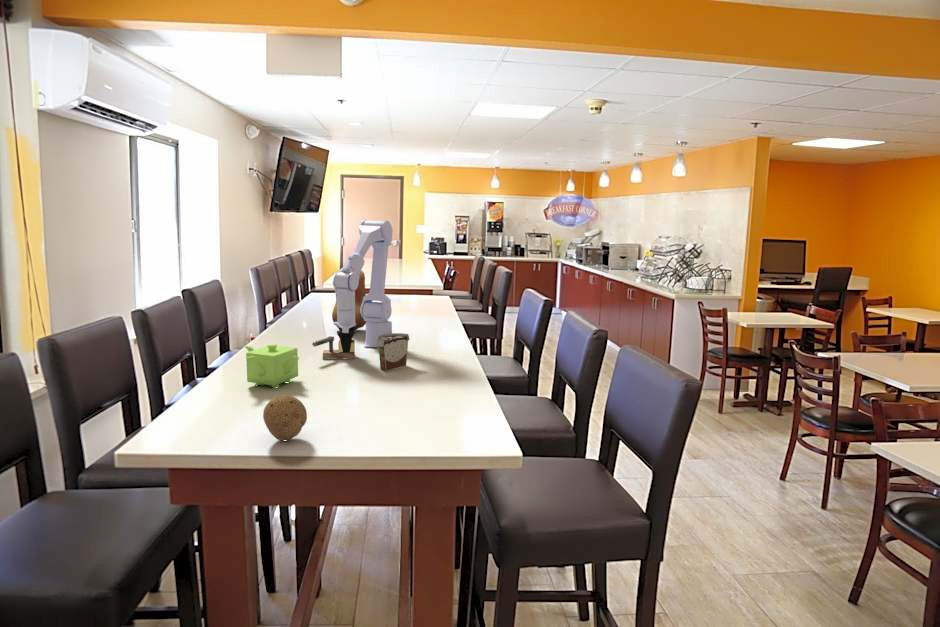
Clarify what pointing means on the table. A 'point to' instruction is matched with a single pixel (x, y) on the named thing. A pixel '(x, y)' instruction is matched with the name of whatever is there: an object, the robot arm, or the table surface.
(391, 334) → the food container
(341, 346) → the tan wooden block
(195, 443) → the table surface
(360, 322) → the butternut squash
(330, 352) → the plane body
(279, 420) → the natural sponge
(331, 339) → the lever
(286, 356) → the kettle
